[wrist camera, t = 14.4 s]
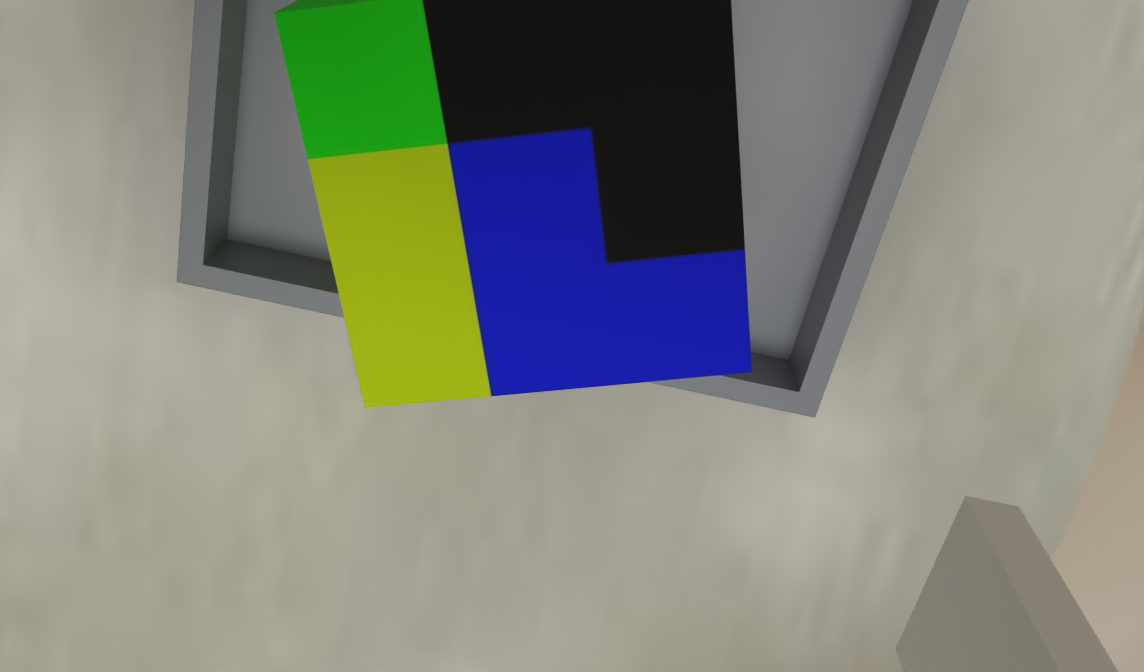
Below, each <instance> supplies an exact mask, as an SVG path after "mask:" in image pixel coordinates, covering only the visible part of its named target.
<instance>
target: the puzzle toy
mask: <svg viewBox="0 0 1144 672" xmlns="http://www.w3.org/2000/svg"><path fill="white" fill-rule="evenodd" d="M274 16H275V21H276V25H277V29H278V33H279V38H280V42H281V46H282V51H283V55H284V59H285V64H286V68H287V72H288V77H289V81H290V85H291V90H292V94H293V98H294V103H295V107H296V111H297V116H298V120H299V124H300V128H301V133H302V137H303V141H304V146H305V150H306V154H307V159H308V163H309V167H310V172H311V176H312V180H313V185H314V189H315V193H316V198H317V202H318V206H319V211H320V215H321V219H322V223H323V228H324V232H325V236H326V241H327V245H328V249H329V254H330V258H331V262H332V267H333V271H334V275H335V280H336V284H337V288H338V293H339V297H340V301H341V306H342V310H343V314H344V318H345V323H346V327H347V331H348V336H349V340H350V344H351V349H352V353H353V357H354V362H355V366H356V370H357V375H358V379H359V383H360V388H361V392H362V396H363V401H364V405H365V408H367V407H378V406H389V405H400V404H411V403H422V402H433V401H444V400H455V399H466V398H476V397H487V396H498V395H509V394H520V393H531V392H542V391H553V390H564V389H575V388H586V387H597V386H608V385H619V384H630V383H641V382H652V381H663V380H673V379H684V378H695V377H706V376H717V375H728V374H739V373H750V372H752V365H751V347H750V329H749V311H748V294H747V276H746V258H745V240H744V222H743V204H742V186H741V168H740V150H739V132H738V115H737V97H736V79H735V61H734V43H733V25H732V7H731V0H297V1H295V2H293V3H291V4H290V5H288V6H286V7H284V8H282V9H280V10H278V11H277V12H275V13H274Z"/></svg>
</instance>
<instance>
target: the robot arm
mask: <svg viewBox="0 0 1144 672" xmlns="http://www.w3.org/2000/svg"><path fill="white" fill-rule="evenodd" d="M896 651H897V654H898V656H899V659H900V662H901V665H902V668H903V671H904V672H1118V670H1117V669H1116V667H1115V665H1114V664H1113V662H1112V660H1111V659H1110V657H1109V655H1108V654H1107V652H1106V650H1105V649H1104V647H1103V645H1102V644H1101V642H1100V640H1099V639H1098V637H1097V635H1096V634H1095V632H1094V631H1093V629H1092V627H1091V625H1090V624H1089V622H1088V621H1087V619H1086V618H1085V616H1084V614H1083V612H1082V611H1081V609H1080V607H1079V606H1078V604H1077V603H1076V601H1075V599H1074V597H1073V596H1072V594H1071V592H1070V591H1069V589H1068V587H1067V586H1066V584H1065V582H1064V581H1063V579H1062V577H1061V576H1060V574H1059V573H1058V571H1057V569H1056V567H1055V566H1054V564H1053V563H1052V561H1051V559H1050V558H1049V556H1048V554H1047V553H1046V551H1045V549H1044V548H1043V546H1042V544H1041V543H1040V541H1039V539H1038V538H1037V536H1036V534H1035V533H1034V531H1033V529H1032V528H1031V526H1030V524H1029V523H1028V521H1027V519H1026V518H1025V516H1024V514H1023V513H1022V511H1021V509H1020V508H1019V507H1017V506H1013V505H1008V504H1003V503H998V502H993V501H989V500H984V499H979V498H974V497H970V496H965V498H964V500H963V502H962V504H961V507H960V509H959V511H958V513H957V515H956V518H955V520H954V522H953V524H952V526H951V529H950V531H949V533H948V535H947V537H946V539H945V542H944V544H943V546H942V548H941V550H940V553H939V555H938V557H937V559H936V561H935V564H934V566H933V568H932V570H931V572H930V575H929V577H928V579H927V581H926V583H925V585H924V588H923V590H922V592H921V594H920V596H919V599H918V601H917V603H916V605H915V607H914V610H913V612H912V614H911V616H910V618H909V621H908V623H907V625H906V627H905V629H904V631H903V634H902V636H901V638H900V640H899V642H898V645H897V647H896Z"/></svg>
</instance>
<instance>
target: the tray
mask: <svg viewBox="0 0 1144 672" xmlns="http://www.w3.org/2000/svg"><path fill="white" fill-rule="evenodd" d="M295 1H297V0H195V9H194V24H193V39H192V55H191V70H190V85H189V101H188V116H187V131H186V147H185V162H184V177H183V193H182V208H181V223H180V239H179V254H178V269H177V282H179V283H184V284H188V285H193V286H198V287H202V288H207V289H212V290H217V291H221V292H226V293H231V294H235V295H240V296H245V297H250V298H254V299H259V300H264V301H268V302H273V303H278V304H283V305H287V306H292V307H297V308H301V309H306V310H311V311H315V312H320V313H325V314H330V315H334V316H339V317H344V314H343V310H342V306H341V301H340V297H339V293H338V288H337V284H336V280H335V275H334V271H333V267H332V262H331V258H330V254H329V249H328V245H327V241H326V236H325V232H324V228H323V223H322V219H321V215H320V211H319V206H318V202H317V198H316V193H315V189H314V185H313V180H312V176H311V172H310V167H309V163H308V159H307V154H306V150H305V146H304V141H303V137H302V133H301V128H300V124H299V120H298V116H297V111H296V107H295V103H294V98H293V94H292V90H291V85H290V81H289V77H288V72H287V68H286V64H285V59H284V55H283V51H282V46H281V42H280V38H279V33H278V29H277V25H276V21H275V16H274V13H275V12H277V11H278V10H280V9H282V8H284V7H286V6H288V5H290V4H291V3H293V2H295ZM967 3H968V0H731V7H732V25H733V43H734V61H735V79H736V97H737V115H738V132H739V150H740V168H741V186H742V204H743V222H744V240H745V258H746V276H747V294H748V311H749V329H750V347H751V365H752V372H750V373H739V374H728V375H717V376H706V377H695V378H684V379H673V380H663V381H652V382H650V383H655V384H659V385H664V386H669V387H673V388H678V389H683V390H688V391H692V392H697V393H702V394H706V395H711V396H716V397H721V398H725V399H730V400H735V401H739V402H744V403H749V404H754V405H758V406H763V407H768V408H772V409H777V410H782V411H786V412H791V413H796V414H801V415H805V416H810V417H815V416H816V413H817V410H818V408H819V405H820V402H821V400H822V397H823V394H824V391H825V389H826V386H827V383H828V381H829V378H830V375H831V372H832V370H833V367H834V364H835V362H836V359H837V356H838V353H839V351H840V348H841V345H842V343H843V340H844V337H845V334H846V332H847V329H848V326H849V324H850V321H851V318H852V315H853V313H854V310H855V307H856V305H857V302H858V299H859V296H860V294H861V291H862V288H863V286H864V283H865V280H866V277H867V275H868V272H869V269H870V267H871V264H872V261H873V258H874V256H875V253H876V250H877V248H878V245H879V242H880V239H881V237H882V234H883V231H884V229H885V226H886V223H887V220H888V218H889V215H890V212H891V210H892V207H893V204H894V201H895V199H896V196H897V193H898V191H899V188H900V185H901V182H902V180H903V177H904V174H905V172H906V169H907V166H908V163H909V161H910V158H911V155H912V153H913V150H914V147H915V144H916V142H917V139H918V136H919V134H920V131H921V128H922V125H923V123H924V120H925V117H926V115H927V112H928V109H929V106H930V104H931V101H932V98H933V96H934V93H935V90H936V87H937V85H938V82H939V79H940V76H941V74H942V71H943V68H944V66H945V63H946V60H947V57H948V55H949V52H950V49H951V47H952V44H953V41H954V38H955V36H956V33H957V30H958V28H959V25H960V22H961V19H962V17H963V14H964V11H965V9H966V6H967Z"/></svg>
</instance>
